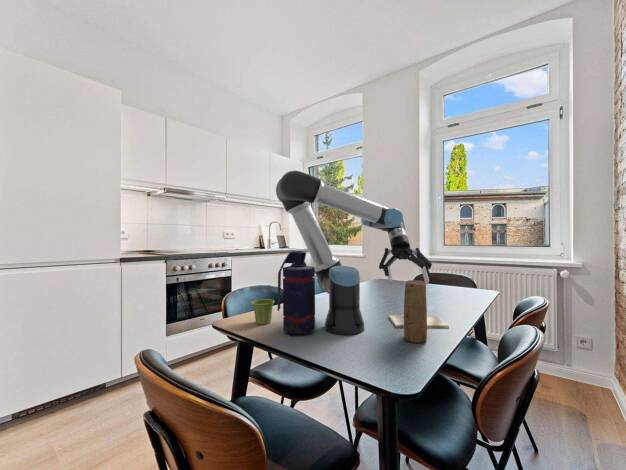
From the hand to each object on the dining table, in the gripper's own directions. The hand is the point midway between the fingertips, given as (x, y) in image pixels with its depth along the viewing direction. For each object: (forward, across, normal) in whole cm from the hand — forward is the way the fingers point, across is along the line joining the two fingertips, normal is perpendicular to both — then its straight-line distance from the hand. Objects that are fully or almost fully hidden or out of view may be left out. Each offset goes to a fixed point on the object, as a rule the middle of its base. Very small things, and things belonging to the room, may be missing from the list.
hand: (409, 282), depth 114 cm
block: (+19, 0, +7) cm, 20 cm away
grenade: (+15, -42, +11) cm, 46 cm away
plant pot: (+7, -57, +19) cm, 61 cm away
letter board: (+6, +6, +20) cm, 21 cm away
